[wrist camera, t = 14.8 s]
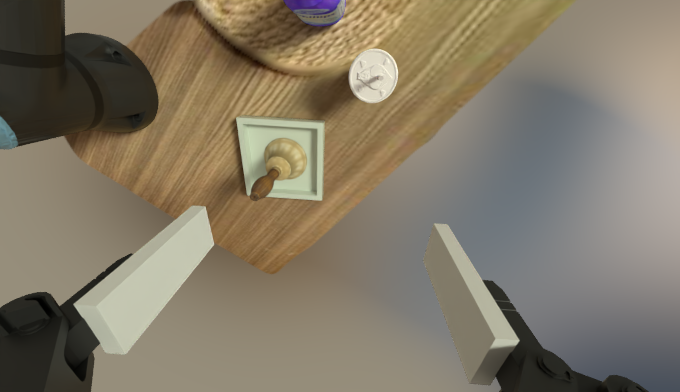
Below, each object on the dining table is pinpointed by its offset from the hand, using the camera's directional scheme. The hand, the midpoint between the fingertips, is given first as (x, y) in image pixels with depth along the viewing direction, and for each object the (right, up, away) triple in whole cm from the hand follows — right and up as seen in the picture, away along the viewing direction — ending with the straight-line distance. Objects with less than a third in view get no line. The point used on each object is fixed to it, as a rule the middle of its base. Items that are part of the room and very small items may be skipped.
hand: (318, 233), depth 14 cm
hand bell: (-9, +9, +32) cm, 35 cm away
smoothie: (+6, +22, +25) cm, 34 cm away
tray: (-9, +10, +32) cm, 35 cm away
